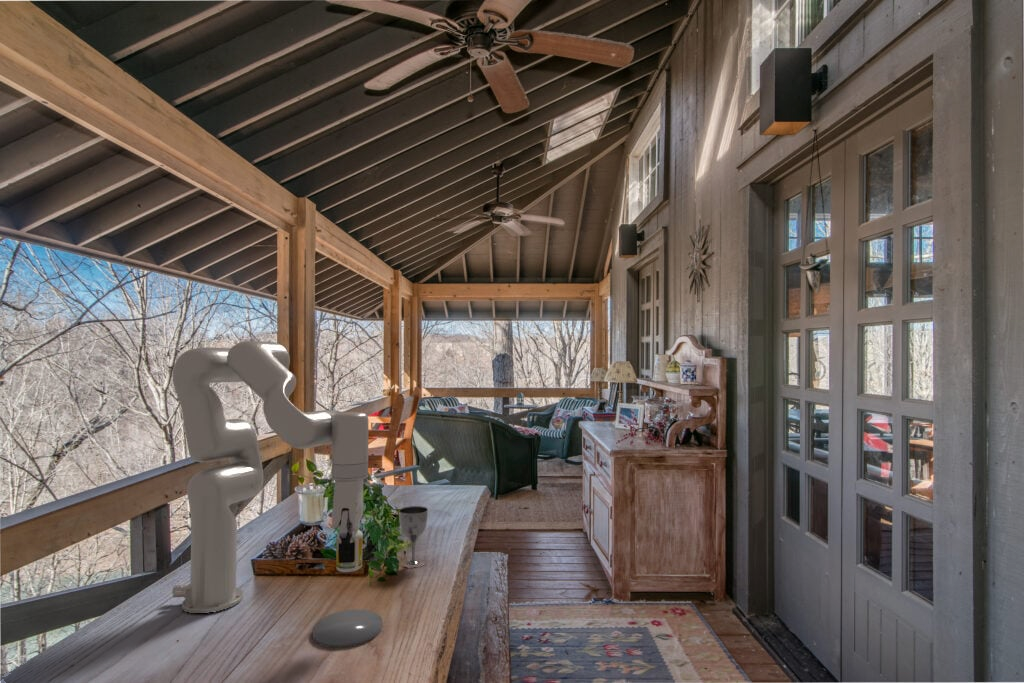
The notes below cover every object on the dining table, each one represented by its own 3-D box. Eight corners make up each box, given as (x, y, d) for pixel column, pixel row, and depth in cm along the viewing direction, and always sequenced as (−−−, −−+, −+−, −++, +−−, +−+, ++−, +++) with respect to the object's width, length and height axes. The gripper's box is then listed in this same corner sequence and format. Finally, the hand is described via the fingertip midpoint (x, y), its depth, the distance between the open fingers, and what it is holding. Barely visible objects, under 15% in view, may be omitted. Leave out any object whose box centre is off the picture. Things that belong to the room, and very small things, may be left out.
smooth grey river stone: (305, 649, 107) (305, 643, 107) (321, 616, 121) (321, 611, 121) (377, 645, 109) (377, 639, 109) (385, 613, 123) (386, 607, 123)
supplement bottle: (345, 574, 112) (345, 527, 112) (330, 568, 115) (331, 522, 115) (367, 567, 116) (367, 521, 116) (353, 561, 119) (353, 517, 119)
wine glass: (421, 570, 148) (421, 514, 149) (394, 567, 150) (394, 512, 150) (431, 559, 156) (431, 506, 156) (405, 557, 158) (405, 505, 158)
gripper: (340, 463, 124) (339, 544, 123) (322, 479, 107) (321, 573, 106) (373, 462, 125) (373, 542, 124) (361, 478, 108) (360, 571, 107)
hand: (349, 555), depth 115 cm, fingers closed on supplement bottle, 5 cm apart
